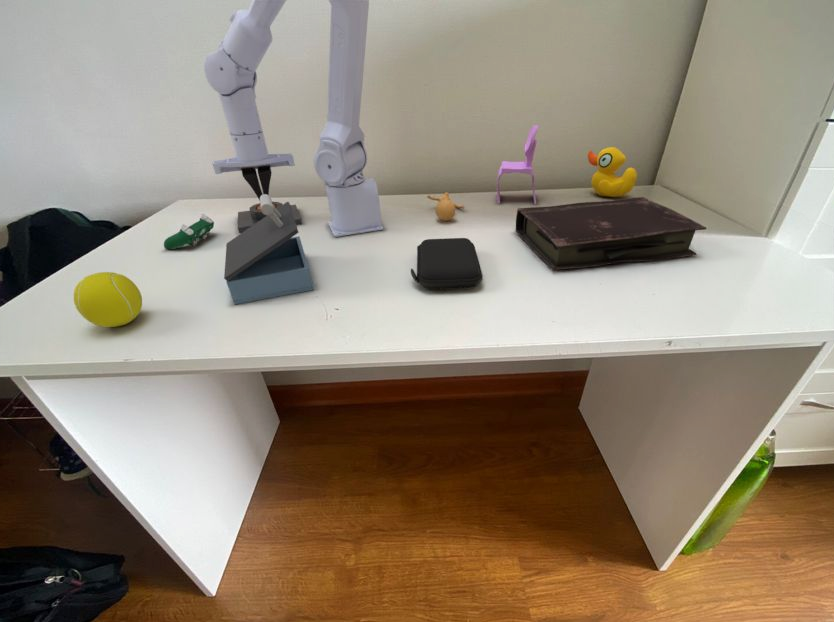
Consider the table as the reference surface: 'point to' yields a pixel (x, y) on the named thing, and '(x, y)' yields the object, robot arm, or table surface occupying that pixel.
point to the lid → (260, 237)
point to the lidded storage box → (273, 275)
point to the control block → (260, 216)
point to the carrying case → (447, 264)
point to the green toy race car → (190, 233)
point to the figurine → (445, 207)
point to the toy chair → (521, 166)
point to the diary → (606, 232)
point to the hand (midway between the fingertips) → (266, 206)
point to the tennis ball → (107, 299)
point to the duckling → (611, 173)
